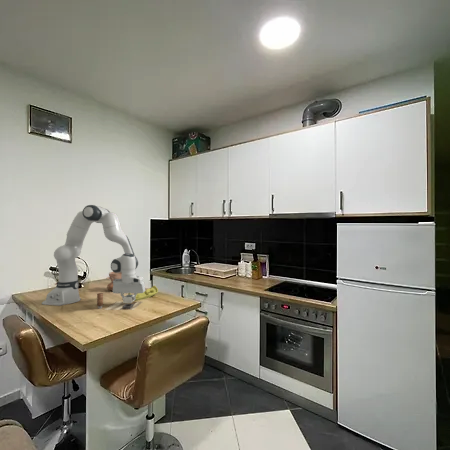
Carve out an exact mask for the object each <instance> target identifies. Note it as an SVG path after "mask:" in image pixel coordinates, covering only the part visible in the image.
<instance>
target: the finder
mask: <svg viewBox="0 0 450 450" xmlns="http://www.w3.org/2000/svg"><path fill="white" fill-rule="evenodd" d="M134 296H135V295H134V294H131V295H128V294H127V295H124V297H123V300H122V302H123V303H132V302H135V301H134V300H132V297H134Z"/></svg>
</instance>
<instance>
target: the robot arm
mask: <svg viewBox="0 0 450 450" xmlns="http://www.w3.org/2000/svg"><path fill="white" fill-rule="evenodd" d="M93 223H96V224H101V226H102V228H103V233H104V236H105V239H107V240H109V242H113V243H116V244H118V245H120V246H121V247H122V249H123V252H124V253H123V254H122V255H121V256H120V257H117V258H114V259H112V260H111V262H110V270H111V272H115V273H120V272H121V273H122V275H121V277H122V279H115V280H113V291H112V293H113V294H120V296H121V298H122V301H123V297H125V294H128V293H131V294H133V295H135V296H134V297H132V300H135V299H136V295H137V294H138V293H143V292H145V291H146V286H145V282H144V277H143V276H140V275H138V274H137V272H136V269H137V268H138V265H139V261H138V258H137V257H136V255H135V253H134V250H133V248H132V245H131V242H130V239H129V238H128V236H127V235H126V234H125V232H124V231H123V229H122V227H121V223H120V219H119V217H118V215H117V213H115V212H111V211H109V209H107V208H104V207H101V206H98V205H95V204H89V205H86V206H84V208H83V209H82V210H81V211H79V212H77V214H76V215H75V216H74V218H73V220H72V222H71V224H70V226H69V228H68V231H67V232H66V239H65V243H64V245H60V246H58V247H57V248H56V249H54V252H53V258H54V259H55V261H56V265H57V269H58V281H57V282H55V283H54V286H55V287H54V288H53V289H52V290H51V291H49V292H48V293H47V295H46V298H45V300H43V301H42V302H41V305H46V306H49V305H50V306H59V307H60V306H64V305H70V304H74V303H77V302H80V301H81V297H80V291H79V278H78V277H79V276H78V275H79V273H78V271H79V269H78V266H77V264H76V259H78V258H79V257H80V255H81V253H82V248H83V245H84V241H85V238H86V236H87V235H88V232H89V229H90V227H91V225H92V224H93Z"/></svg>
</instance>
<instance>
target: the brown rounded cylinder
mask: <svg viewBox="0 0 450 450" xmlns="http://www.w3.org/2000/svg"><path fill="white" fill-rule="evenodd" d="M103 305H104V293H102V292H99V293H96V306H97V309H100V310H101V309H102V308H103Z"/></svg>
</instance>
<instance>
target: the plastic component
mask: <svg viewBox="0 0 450 450" xmlns="http://www.w3.org/2000/svg"><path fill="white" fill-rule="evenodd" d="M158 292H159V289H158V287H157V286H156V285H152V286H151V287H149V288H147V289H145V291H144V292H143V293H137V295H136V299H135V300H134V301H133V302H139V301H141V300H145V299H149V298H151V297H154V296H155V295H157V294H158ZM127 295H132V293H127Z"/></svg>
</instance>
